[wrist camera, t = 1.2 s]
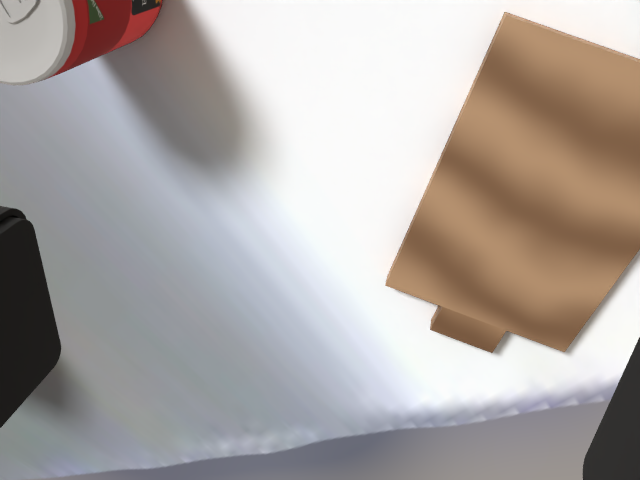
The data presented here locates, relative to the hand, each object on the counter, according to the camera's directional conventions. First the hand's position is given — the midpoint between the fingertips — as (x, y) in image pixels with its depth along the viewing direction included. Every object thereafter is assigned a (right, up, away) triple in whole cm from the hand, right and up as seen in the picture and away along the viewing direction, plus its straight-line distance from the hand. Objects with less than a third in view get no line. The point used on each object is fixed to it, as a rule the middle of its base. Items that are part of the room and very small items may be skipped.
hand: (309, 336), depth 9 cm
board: (+14, +3, +30) cm, 33 cm away
